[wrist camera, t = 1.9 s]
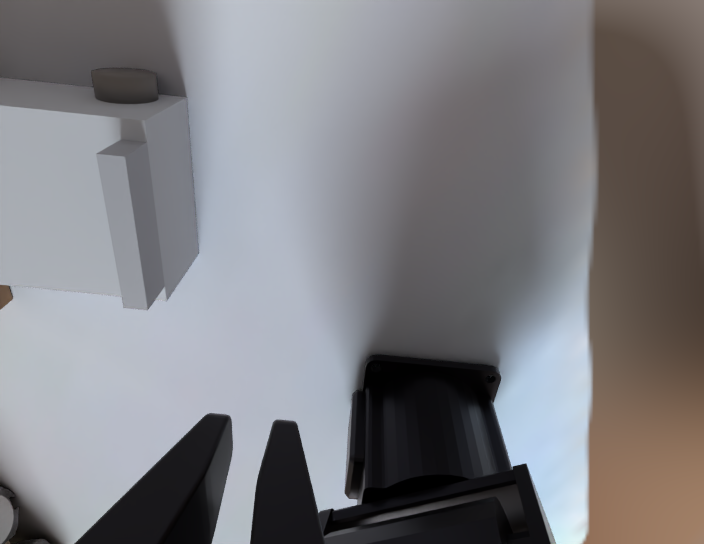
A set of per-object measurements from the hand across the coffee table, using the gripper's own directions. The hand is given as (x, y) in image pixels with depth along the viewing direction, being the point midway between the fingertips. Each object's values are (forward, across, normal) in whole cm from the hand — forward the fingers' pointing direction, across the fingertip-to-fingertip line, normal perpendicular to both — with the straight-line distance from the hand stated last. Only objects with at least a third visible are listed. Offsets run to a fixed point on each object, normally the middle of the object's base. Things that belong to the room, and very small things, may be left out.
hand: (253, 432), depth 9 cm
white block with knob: (+12, +10, 0) cm, 16 cm away
